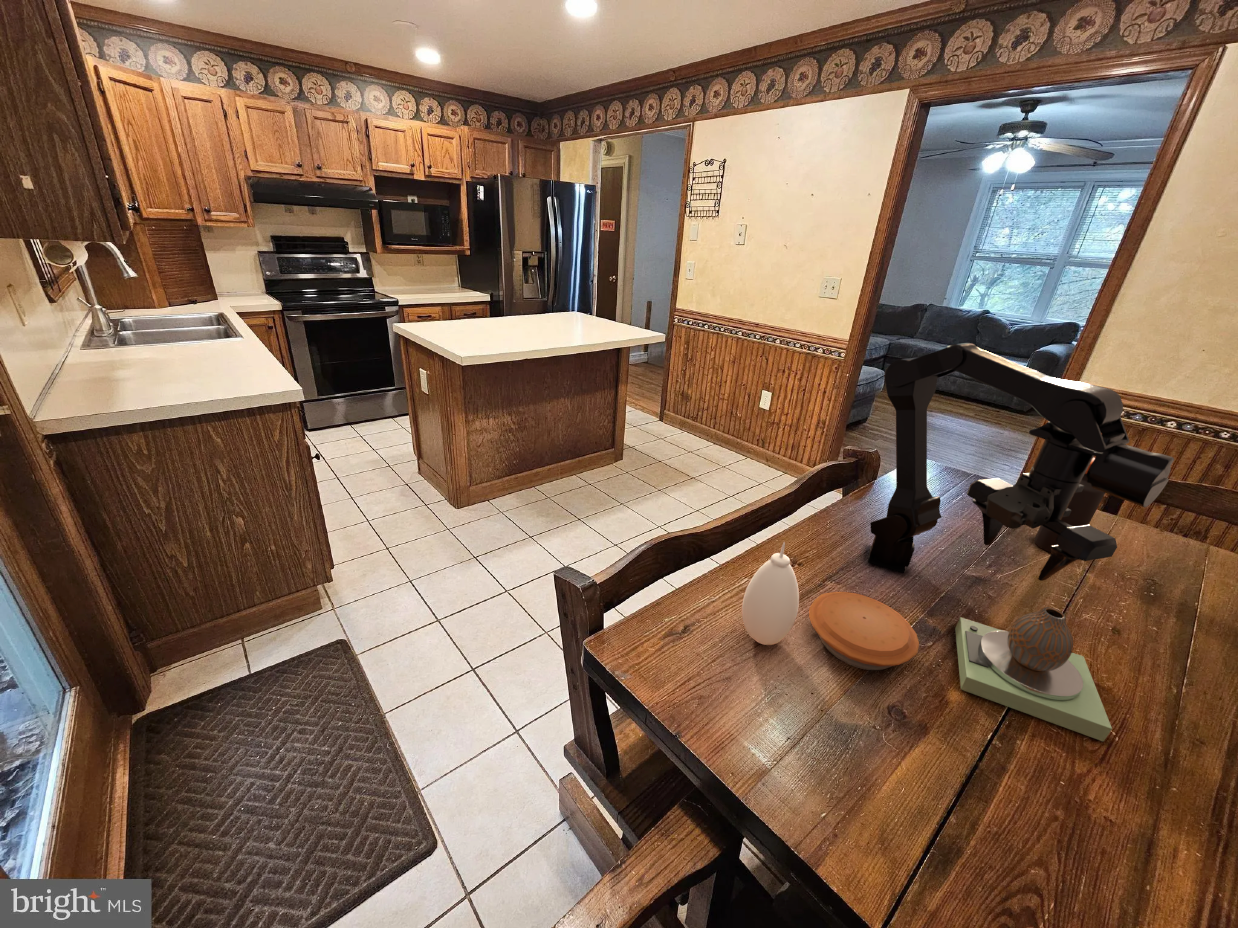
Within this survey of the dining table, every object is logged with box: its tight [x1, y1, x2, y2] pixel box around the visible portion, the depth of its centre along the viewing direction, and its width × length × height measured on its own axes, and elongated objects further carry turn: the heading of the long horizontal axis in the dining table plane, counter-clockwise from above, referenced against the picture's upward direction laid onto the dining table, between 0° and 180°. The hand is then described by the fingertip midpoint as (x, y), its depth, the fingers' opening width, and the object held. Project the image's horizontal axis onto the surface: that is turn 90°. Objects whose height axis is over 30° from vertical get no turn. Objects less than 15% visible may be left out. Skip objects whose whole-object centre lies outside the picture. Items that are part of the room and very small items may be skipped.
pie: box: [808, 591, 920, 671], centre depth 79 cm, size 15×16×5 cm
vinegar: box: [1033, 457, 1106, 554], centre depth 104 cm, size 7×7×20 cm
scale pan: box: [979, 630, 1083, 700], centre depth 74 cm, size 12×12×1 cm
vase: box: [1007, 606, 1074, 671], centre depth 72 cm, size 7×7×9 cm
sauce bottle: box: [741, 541, 800, 646], centre depth 76 cm, size 8×8×18 cm
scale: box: [954, 616, 1113, 742], centre depth 74 cm, size 16×14×3 cm
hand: (1013, 561), depth 81 cm, fingers open, 9 cm apart
